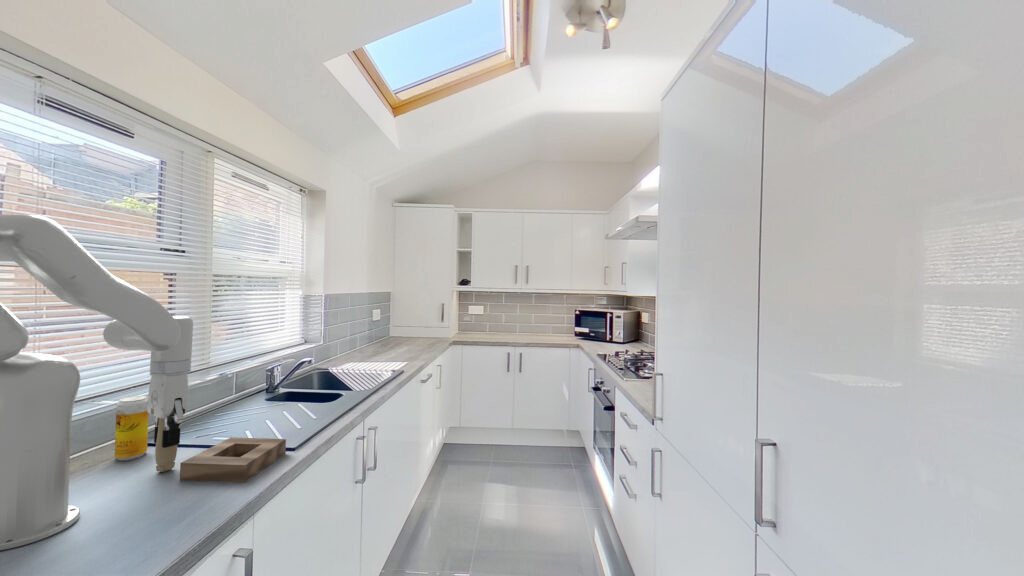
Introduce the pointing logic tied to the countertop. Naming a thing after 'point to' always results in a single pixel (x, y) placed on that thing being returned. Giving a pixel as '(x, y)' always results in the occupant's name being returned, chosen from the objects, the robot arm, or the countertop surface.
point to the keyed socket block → (233, 460)
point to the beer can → (131, 427)
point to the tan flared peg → (164, 449)
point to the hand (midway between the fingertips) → (166, 443)
